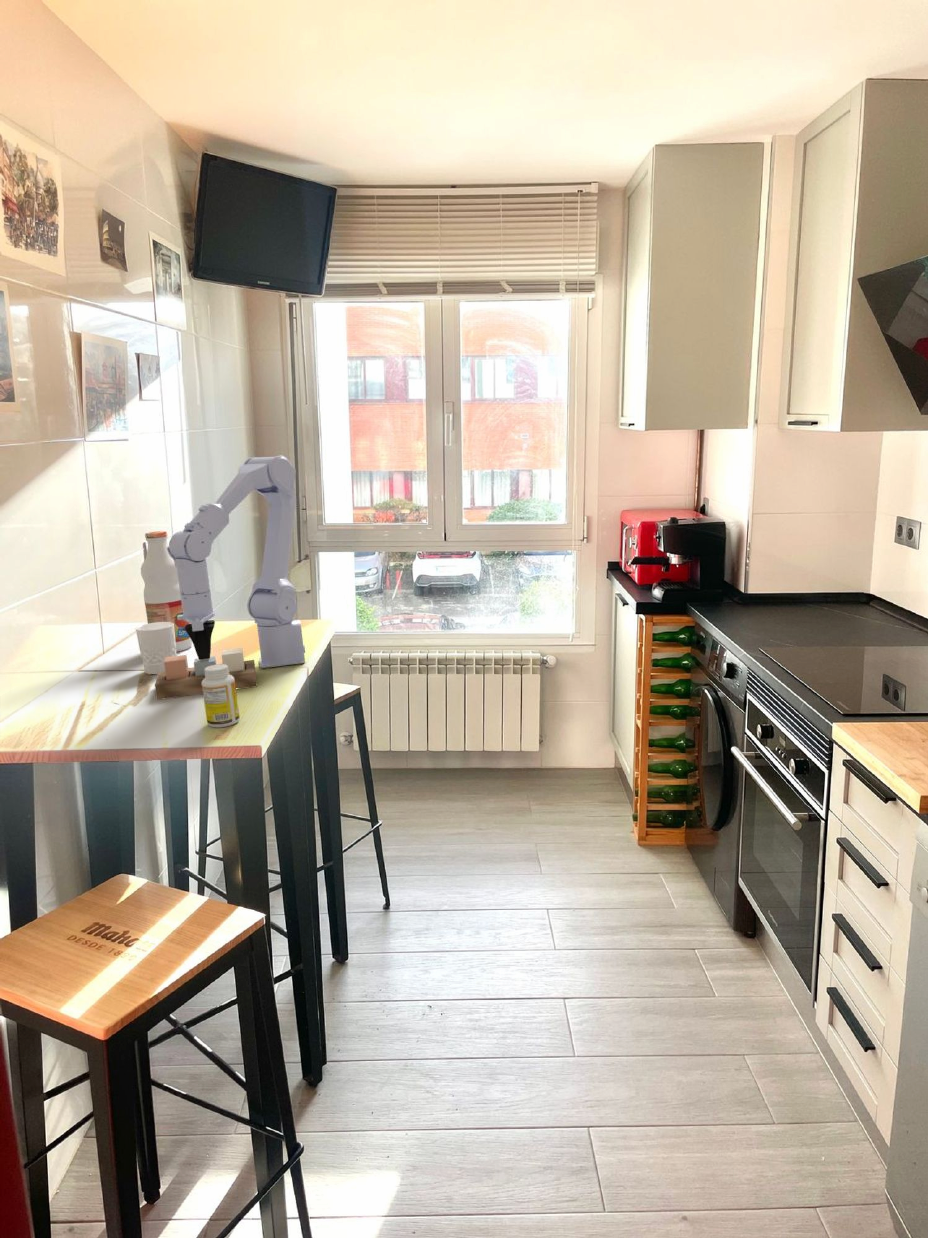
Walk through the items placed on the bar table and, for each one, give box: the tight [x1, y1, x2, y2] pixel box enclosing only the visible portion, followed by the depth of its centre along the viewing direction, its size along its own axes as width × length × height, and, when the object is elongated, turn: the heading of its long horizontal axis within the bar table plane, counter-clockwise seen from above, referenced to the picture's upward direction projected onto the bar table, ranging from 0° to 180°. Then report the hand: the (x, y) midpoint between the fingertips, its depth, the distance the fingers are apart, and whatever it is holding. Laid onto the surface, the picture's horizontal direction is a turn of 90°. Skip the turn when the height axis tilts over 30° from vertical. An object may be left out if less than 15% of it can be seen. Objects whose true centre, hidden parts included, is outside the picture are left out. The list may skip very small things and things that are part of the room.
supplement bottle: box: [202, 663, 240, 728], centre depth 159 cm, size 6×6×10 cm
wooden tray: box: [154, 659, 257, 700], centre depth 184 cm, size 19×10×3 cm, turn 103°
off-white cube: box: [221, 647, 245, 672], centre depth 184 cm, size 4×4×4 cm
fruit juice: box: [140, 530, 193, 653], centre depth 215 cm, size 9×9×28 cm
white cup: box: [135, 622, 178, 675], centre depth 198 cm, size 8×8×10 cm
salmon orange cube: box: [164, 654, 189, 680], centre depth 182 cm, size 4×4×4 cm
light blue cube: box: [193, 655, 217, 676], centre depth 183 cm, size 4×4×4 cm
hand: (204, 658), depth 183 cm, fingers closed
